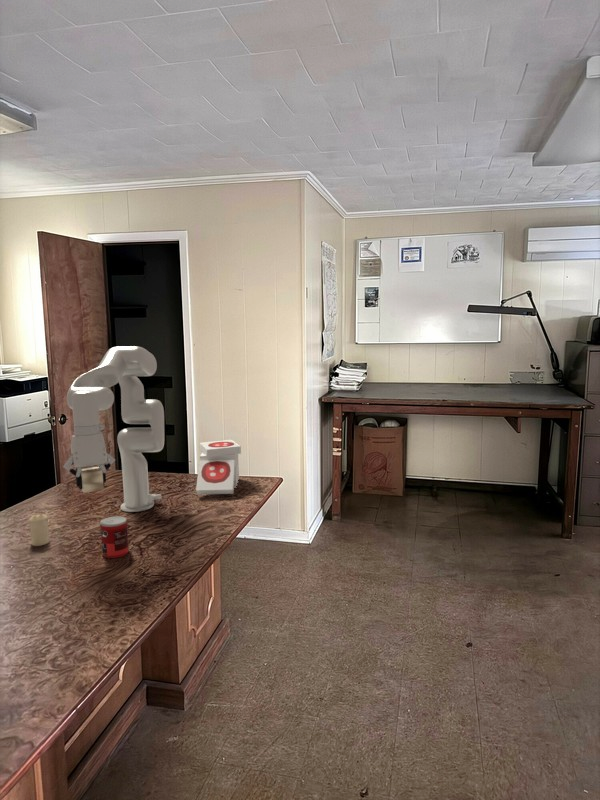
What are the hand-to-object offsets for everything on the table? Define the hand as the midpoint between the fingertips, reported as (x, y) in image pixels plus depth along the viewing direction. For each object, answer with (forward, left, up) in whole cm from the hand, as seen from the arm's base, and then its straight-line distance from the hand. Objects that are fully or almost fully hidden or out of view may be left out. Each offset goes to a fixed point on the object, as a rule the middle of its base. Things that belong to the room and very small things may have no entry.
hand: (91, 485), depth 181 cm
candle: (+13, -19, -22) cm, 32 cm away
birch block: (0, 0, -1) cm, 1 cm away
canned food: (-5, +5, -22) cm, 23 cm away
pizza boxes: (-62, -38, -22) cm, 75 cm away
